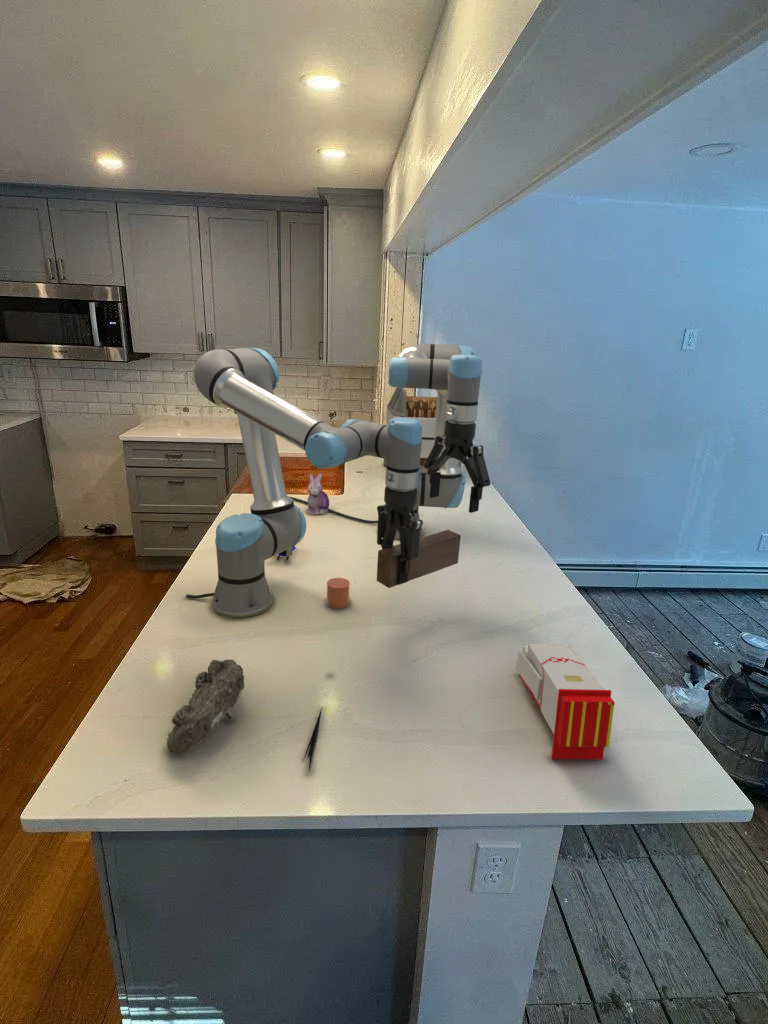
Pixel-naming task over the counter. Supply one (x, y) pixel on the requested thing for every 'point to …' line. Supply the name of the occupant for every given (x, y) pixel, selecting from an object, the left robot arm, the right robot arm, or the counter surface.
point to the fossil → (206, 705)
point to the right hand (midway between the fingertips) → (453, 503)
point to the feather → (313, 740)
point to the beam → (420, 557)
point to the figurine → (317, 496)
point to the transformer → (416, 417)
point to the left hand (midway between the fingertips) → (394, 578)
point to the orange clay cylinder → (338, 592)
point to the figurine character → (286, 553)
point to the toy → (568, 700)
